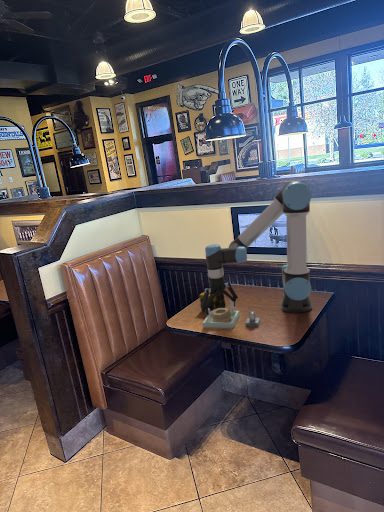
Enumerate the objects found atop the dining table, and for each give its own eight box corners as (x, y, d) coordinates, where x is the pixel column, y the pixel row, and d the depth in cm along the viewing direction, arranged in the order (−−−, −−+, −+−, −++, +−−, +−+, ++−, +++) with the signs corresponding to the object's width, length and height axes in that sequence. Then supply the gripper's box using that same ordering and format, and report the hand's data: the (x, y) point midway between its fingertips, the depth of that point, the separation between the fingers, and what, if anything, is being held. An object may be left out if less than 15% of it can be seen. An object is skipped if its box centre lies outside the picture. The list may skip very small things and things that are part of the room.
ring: (233, 320, 186) (232, 311, 185) (218, 325, 182) (217, 316, 181) (222, 314, 196) (221, 305, 195) (207, 319, 192) (206, 310, 191)
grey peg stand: (260, 321, 183) (259, 310, 181) (258, 326, 177) (257, 315, 176) (247, 321, 185) (246, 310, 183) (245, 326, 179) (244, 315, 178)
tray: (239, 316, 193) (239, 310, 192) (233, 328, 179) (232, 323, 178) (211, 316, 198) (210, 310, 197) (203, 328, 184) (202, 322, 183)
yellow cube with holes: (211, 305, 214) (209, 288, 212) (226, 307, 207) (224, 290, 205) (200, 311, 206) (198, 294, 204) (215, 314, 200) (213, 296, 198)
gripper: (233, 269, 191) (238, 308, 196) (190, 281, 181) (196, 321, 186) (241, 271, 185) (246, 312, 189) (197, 284, 175) (203, 326, 179)
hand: (221, 317), depth 188 cm, fingers open, 13 cm apart
